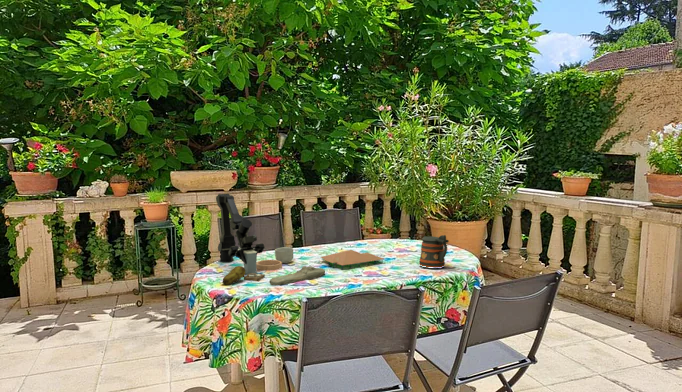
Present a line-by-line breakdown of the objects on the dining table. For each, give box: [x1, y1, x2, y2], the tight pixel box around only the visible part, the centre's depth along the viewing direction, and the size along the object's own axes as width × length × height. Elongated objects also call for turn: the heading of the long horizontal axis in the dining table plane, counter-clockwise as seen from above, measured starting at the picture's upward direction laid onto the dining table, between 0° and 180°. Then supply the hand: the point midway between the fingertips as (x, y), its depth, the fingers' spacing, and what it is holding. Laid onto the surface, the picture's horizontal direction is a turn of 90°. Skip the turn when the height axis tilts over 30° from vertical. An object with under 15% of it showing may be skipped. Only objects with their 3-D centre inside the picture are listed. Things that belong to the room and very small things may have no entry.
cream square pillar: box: [243, 250, 258, 276], centre depth 263 cm, size 5×5×13 cm
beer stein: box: [418, 234, 449, 267], centre depth 284 cm, size 19×15×20 cm
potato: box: [222, 265, 246, 286], centre depth 247 cm, size 8×13×8 cm, turn 127°
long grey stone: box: [269, 265, 326, 287], centre depth 256 cm, size 35×5×10 cm
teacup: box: [274, 246, 294, 264], centre depth 293 cm, size 14×11×8 cm
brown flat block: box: [320, 249, 385, 270], centre depth 292 cm, size 23×33×8 cm
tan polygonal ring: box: [256, 259, 283, 271], centre depth 278 cm, size 14×14×3 cm
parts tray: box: [243, 273, 266, 282], centre depth 254 cm, size 8×8×2 cm
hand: (251, 263), depth 262 cm, fingers closed on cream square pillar, 5 cm apart
